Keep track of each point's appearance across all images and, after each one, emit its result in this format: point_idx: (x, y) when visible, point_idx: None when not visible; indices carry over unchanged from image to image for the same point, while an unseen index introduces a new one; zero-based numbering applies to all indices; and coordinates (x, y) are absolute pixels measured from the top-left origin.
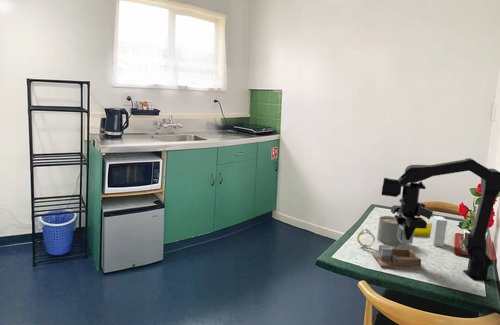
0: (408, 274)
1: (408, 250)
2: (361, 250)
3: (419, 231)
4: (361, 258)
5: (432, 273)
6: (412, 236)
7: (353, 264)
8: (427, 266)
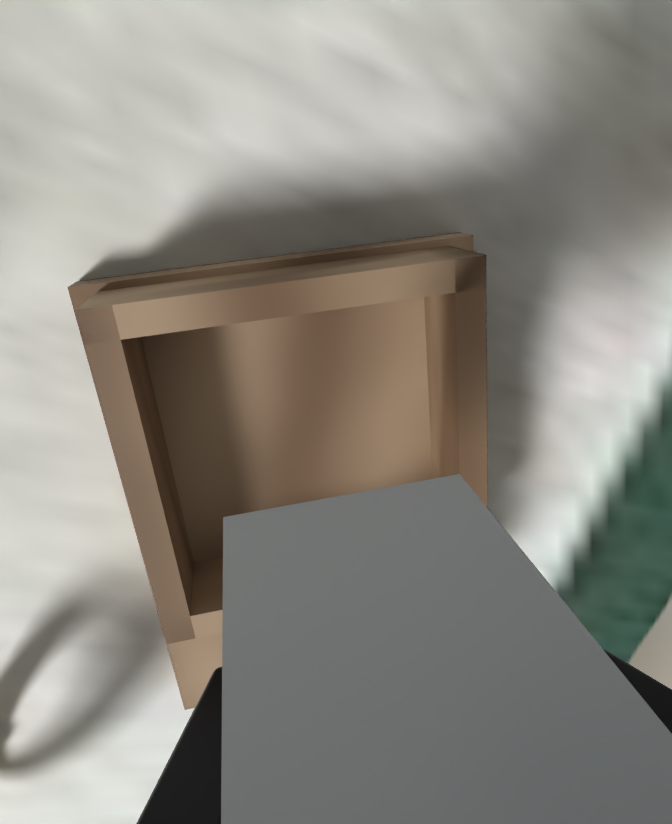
0: (577, 414)
1: (124, 344)
2: (94, 768)
3: None
4: None
5: (547, 119)
6: (541, 593)
7: None
8: (357, 105)
